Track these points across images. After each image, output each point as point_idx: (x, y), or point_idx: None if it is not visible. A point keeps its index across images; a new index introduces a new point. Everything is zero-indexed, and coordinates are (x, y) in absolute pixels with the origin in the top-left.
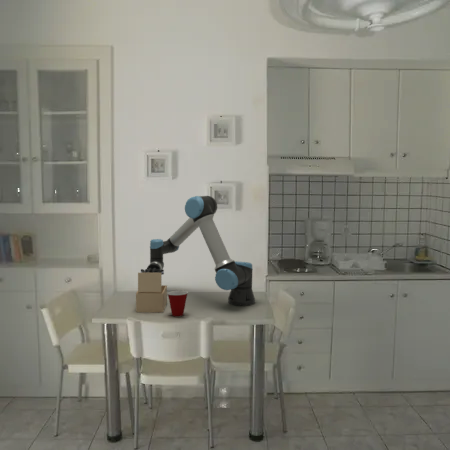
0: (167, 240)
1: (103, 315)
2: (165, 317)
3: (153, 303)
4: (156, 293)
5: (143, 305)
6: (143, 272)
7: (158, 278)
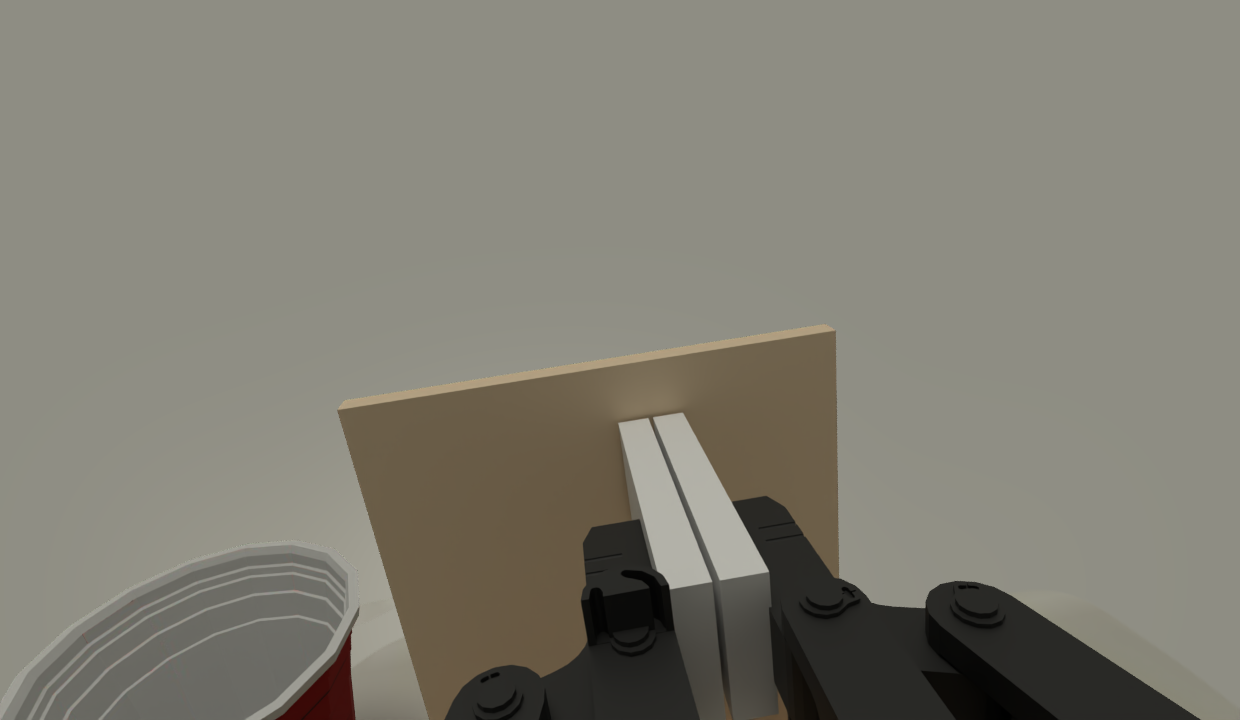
0: None
1: (1115, 663)
2: None
3: None
4: None
5: None
6: (986, 595)
7: (432, 495)
